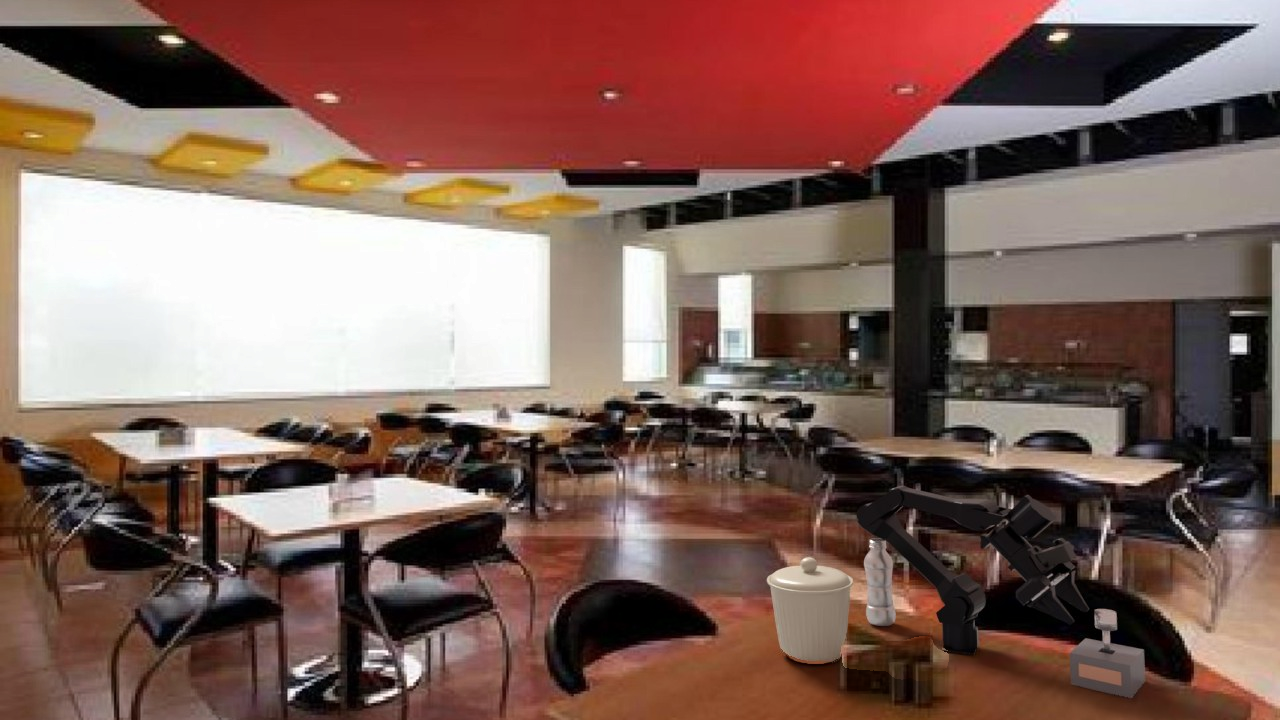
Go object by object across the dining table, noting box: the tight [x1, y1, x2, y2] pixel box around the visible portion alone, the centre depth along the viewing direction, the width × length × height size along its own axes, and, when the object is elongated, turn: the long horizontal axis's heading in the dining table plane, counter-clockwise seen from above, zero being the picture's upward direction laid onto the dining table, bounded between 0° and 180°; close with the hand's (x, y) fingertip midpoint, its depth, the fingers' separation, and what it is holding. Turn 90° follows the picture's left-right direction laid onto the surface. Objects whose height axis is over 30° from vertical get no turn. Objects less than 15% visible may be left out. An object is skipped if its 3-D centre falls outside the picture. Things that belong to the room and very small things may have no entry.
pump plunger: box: [1093, 608, 1118, 654], centre depth 151 cm, size 4×4×9 cm
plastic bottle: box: [863, 537, 897, 627], centre depth 188 cm, size 6×7×20 cm
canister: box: [766, 556, 854, 661], centre depth 170 cm, size 18×18×21 cm
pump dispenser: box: [1069, 637, 1146, 699], centre depth 151 cm, size 10×10×6 cm
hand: (1080, 616), depth 154 cm, fingers open, 9 cm apart
